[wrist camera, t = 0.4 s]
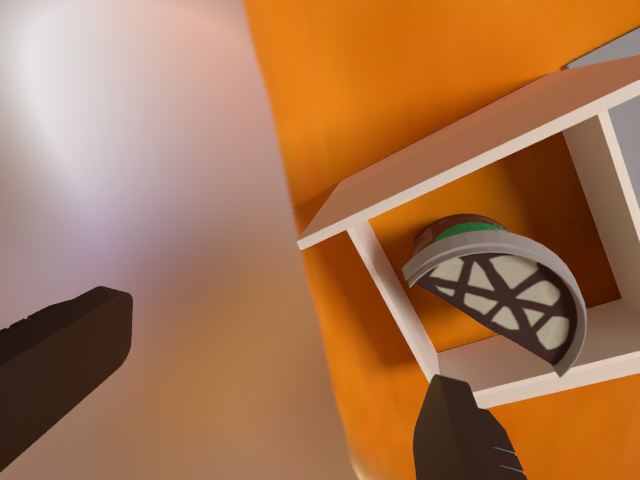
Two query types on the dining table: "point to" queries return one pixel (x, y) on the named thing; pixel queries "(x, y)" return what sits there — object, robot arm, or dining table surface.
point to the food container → (503, 285)
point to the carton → (476, 152)
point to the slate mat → (622, 104)
